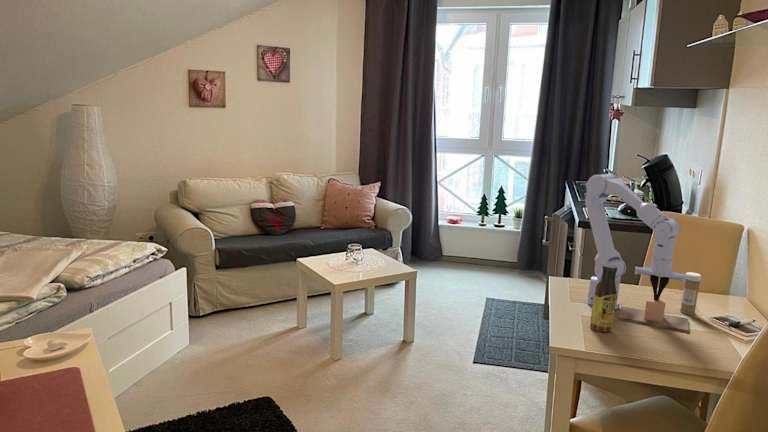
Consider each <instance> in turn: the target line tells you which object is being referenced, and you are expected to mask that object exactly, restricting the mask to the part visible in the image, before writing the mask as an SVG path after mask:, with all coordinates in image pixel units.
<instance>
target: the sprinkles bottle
mask: <svg viewBox="0 0 768 432" xmlns="http://www.w3.org/2000/svg"><path fill="white" fill-rule="evenodd" d="M685 274H686V282H684V285H683V291H682V297H681V305H680V309H679V311H680V312H681V313H682V314H685V315H690V316H691V315H692V316H693V315H695V314H696V307H697V302H698V297H699V296H698V295H699V289H700V283H701V280H702V275H701V274H700V273H697V272H691V271H687V272H685Z"/></svg>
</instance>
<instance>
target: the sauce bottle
mask: <svg viewBox="0 0 768 432" xmlns="http://www.w3.org/2000/svg"><path fill="white" fill-rule="evenodd" d="M602 269H603V273H602V277H601V281H600V282H599V283H598V284H597V286H596V291H595V295H594V301H593V305H592V310H591V314H590V325H589V326H590V328H591V329H592V330H593V331H596V332H599V333H600V332H601V333H608V332H610V331H611V330H612V327H613V322H614V315H615V310H616V309H615V305H616V299H617V291H616V285H615V276H616V272H617V266H615V265H610V264H604V265H603V268H602Z"/></svg>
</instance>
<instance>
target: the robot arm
mask: <svg viewBox="0 0 768 432" xmlns="http://www.w3.org/2000/svg"><path fill="white" fill-rule="evenodd" d="M585 189H586V194H585V199H584V203H585V207H586V211H587V215H588V218H589V219H588V220H589V224H590V227H591V231H592V235H593V239H594V243H595V247H596V251H597V253H596V256H595V257H594V259H593V260H594V263H595V265H594V273H595V275H596V276H595V275H593V276H591V277H590V281H589V282H590V283H589V287H588V288H589V289H588V292H587V303H586V304H588V305H590V306H591V305H592V306H593V301H594V295H595V291H596V286H597V284H598V283H599V282H600V281H601V277H602V273H603V269H602V268H603V265H604V264H610V265H615V266H617V272H616V276H615V285H616V291H617V299H616V305H615V310H618V308H619V304H620V301H619V293H620V285H621V277H622V276H623V275H624V274H625V273H626V270H627V265H626V263H625V261H624V260H623V259H622V256H621V253H620V252H618V251H617V249H616V248H615V245H614V243H613V242H614V241H613V237H612V233H611V229H610V226H609V222H608V218H607V215H606V210H605V206H604V203H605V202H606V200H607V199H608V197H609V196H617V197H618V198H619V199H621V200H622V201H624V203H626V204H627V205H628V206H630V207H631V208H633V209H634V210H635V211H636V216H637V218H639V219H640V220H641V221H642V222H643V223H644V224H646V225H647V226H648V227H649V228H650V229H652V233H653V235H654V237H655V239H654V245H653V253H652V258H651V264H650V265H651V266H650V267H643V266H642V267H641V266H640V267H639V266H635V267H634V275H641V276H642V275H644V276H648V277H649V276H650V277H649V280H650V283H651V286H652V287H651V288H652V291H653V292H652V293H653V297H654V300H658V301H659V298H661V295H662V293H663V292H664V290H665V288H666V287H667V285H668V284H669V283H670V280H674V281H680V282H681V283H682V282H683V283H685V282H686V273H685V274H684V273H680V272H676V271H672V267H673V266H672V265H673V259H674V253H675V247H676V240H677V237H678V236H679V234H681V230H682V228H681V227H682V226H681V224H680V223H679V221H678V220H677V218H676V219H675V218H672V217H671V218H669V215H668V214H665V213H664V212H662V211H661V210H660V209H659V208H657V207H658V205H657V204H656V203H651V202H644V201H643V200H642V199H641V198H640V197H639V196H638V195H637V194H636V193H635V192H634V191H633V190H632V189H631V188H629V186H627V184H626V183H625V182H624V181H623V180H622V179H621V178H620V177H618V176H617V175H616V174H615V173H606V174H604V173H603V174H593V175H592V176H590V177H589V178H588V180H587V182H586V183H585Z"/></svg>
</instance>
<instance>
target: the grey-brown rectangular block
mask: <svg viewBox="0 0 768 432" xmlns="http://www.w3.org/2000/svg"><path fill="white" fill-rule="evenodd" d="M644 313H645V309H644V310H643V309H639V308H633V307H628V306H622V305H621V306H620V310H619V314H618V318H617V320H618V321H619V320H621V321H625V322H631V323H636V324H641V325H647V326H651V327H657V328H662V329H667V330H670V331H671V330H672V331H675V332H676V331H678V332H682V333H686V334H689V333H690V326H689V318H686V317H681V316H676V315H672V314H671V315H670V314H667V313H666V314H665V313H664V317H663V322H658V321H652V320H647V319H644Z"/></svg>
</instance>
